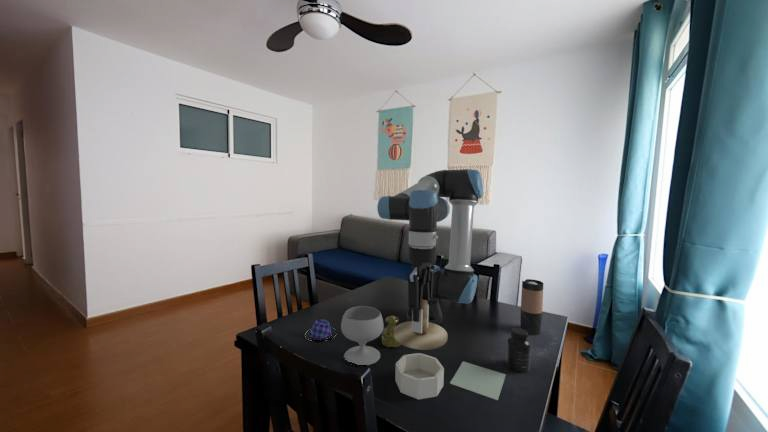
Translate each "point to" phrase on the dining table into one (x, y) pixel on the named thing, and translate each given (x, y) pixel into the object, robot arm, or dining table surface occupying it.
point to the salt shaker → (390, 332)
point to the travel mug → (531, 306)
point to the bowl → (419, 376)
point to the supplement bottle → (518, 351)
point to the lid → (427, 339)
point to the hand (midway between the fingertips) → (420, 328)
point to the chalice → (362, 333)
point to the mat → (479, 380)
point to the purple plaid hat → (320, 329)
